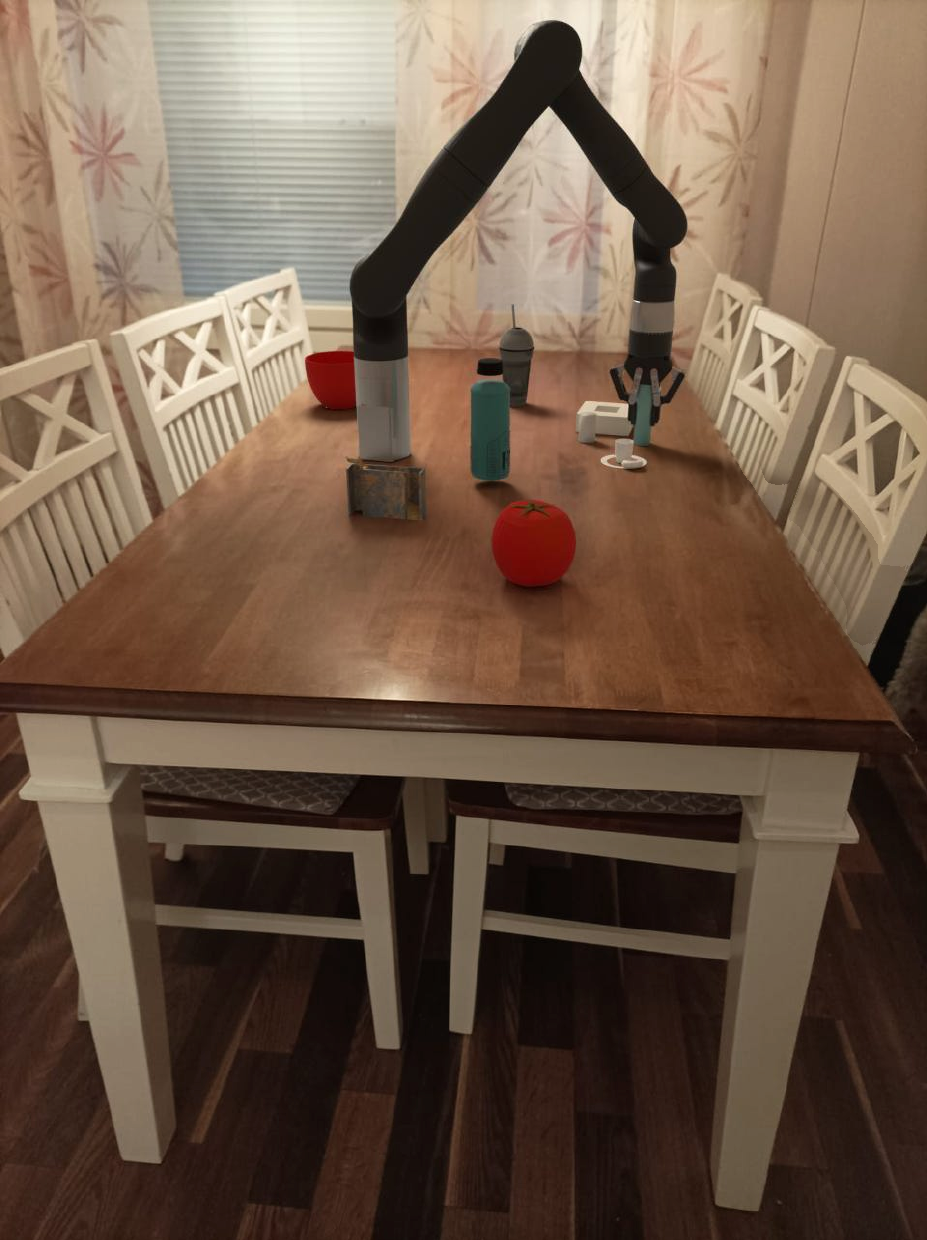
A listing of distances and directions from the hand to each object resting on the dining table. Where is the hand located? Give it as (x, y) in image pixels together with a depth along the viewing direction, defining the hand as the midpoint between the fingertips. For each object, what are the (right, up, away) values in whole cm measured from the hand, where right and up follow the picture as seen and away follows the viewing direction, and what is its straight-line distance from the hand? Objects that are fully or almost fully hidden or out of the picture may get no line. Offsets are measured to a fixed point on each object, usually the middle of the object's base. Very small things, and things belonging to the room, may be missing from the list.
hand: (643, 424), depth 174 cm
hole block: (-5, +2, +11) cm, 13 cm away
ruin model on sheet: (-44, -20, -30) cm, 57 cm away
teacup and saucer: (-7, -10, -9) cm, 15 cm away
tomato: (-24, -31, -51) cm, 64 cm away
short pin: (-10, -2, +3) cm, 11 cm away
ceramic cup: (-57, +9, +26) cm, 63 cm away
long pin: (0, -3, +2) cm, 4 cm away
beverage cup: (-22, +10, +27) cm, 36 cm away
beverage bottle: (-28, -13, -18) cm, 36 cm away
